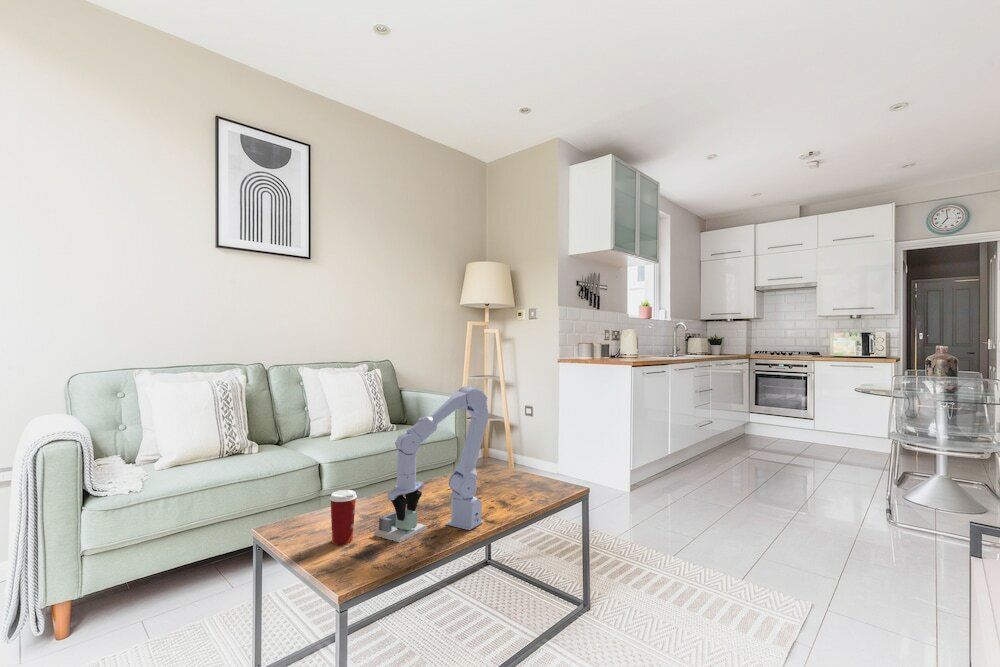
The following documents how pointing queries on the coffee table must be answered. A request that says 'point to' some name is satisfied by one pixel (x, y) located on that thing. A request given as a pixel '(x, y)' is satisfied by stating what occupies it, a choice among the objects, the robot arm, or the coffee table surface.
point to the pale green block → (407, 520)
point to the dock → (395, 529)
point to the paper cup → (342, 516)
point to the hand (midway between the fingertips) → (405, 517)
